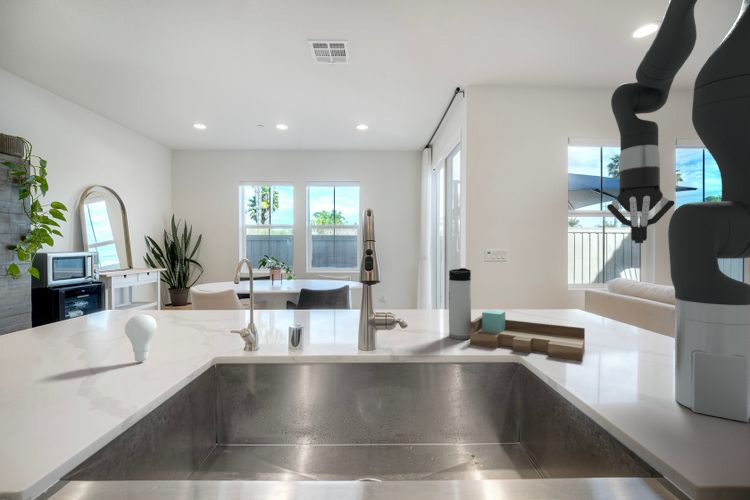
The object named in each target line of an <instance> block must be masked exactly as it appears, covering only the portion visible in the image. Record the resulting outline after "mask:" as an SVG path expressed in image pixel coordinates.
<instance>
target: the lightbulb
mask: <svg viewBox="0 0 750 500" xmlns="http://www.w3.org/2000/svg"><path fill="white" fill-rule="evenodd" d="M157 329H158V324H157V320H156V319H155V318H154V317H153V316H151V315H150V314H149V315H148V314H143V313H141V314H137V315H134V316H132V317H131V318H129V319H128V321H126V323H125V326H124V332H125V335H126V337H127V338H128V339H129V341H130V343H131V345H132V352H133V353H134V361H135V362H138V363H139V362H141V363H144V362H145V361H146V360H148V358H149V350H150V346H151V341H152V339H153V337H154V336H155V334H156V332H157ZM143 361H144V362H143Z"/></svg>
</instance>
